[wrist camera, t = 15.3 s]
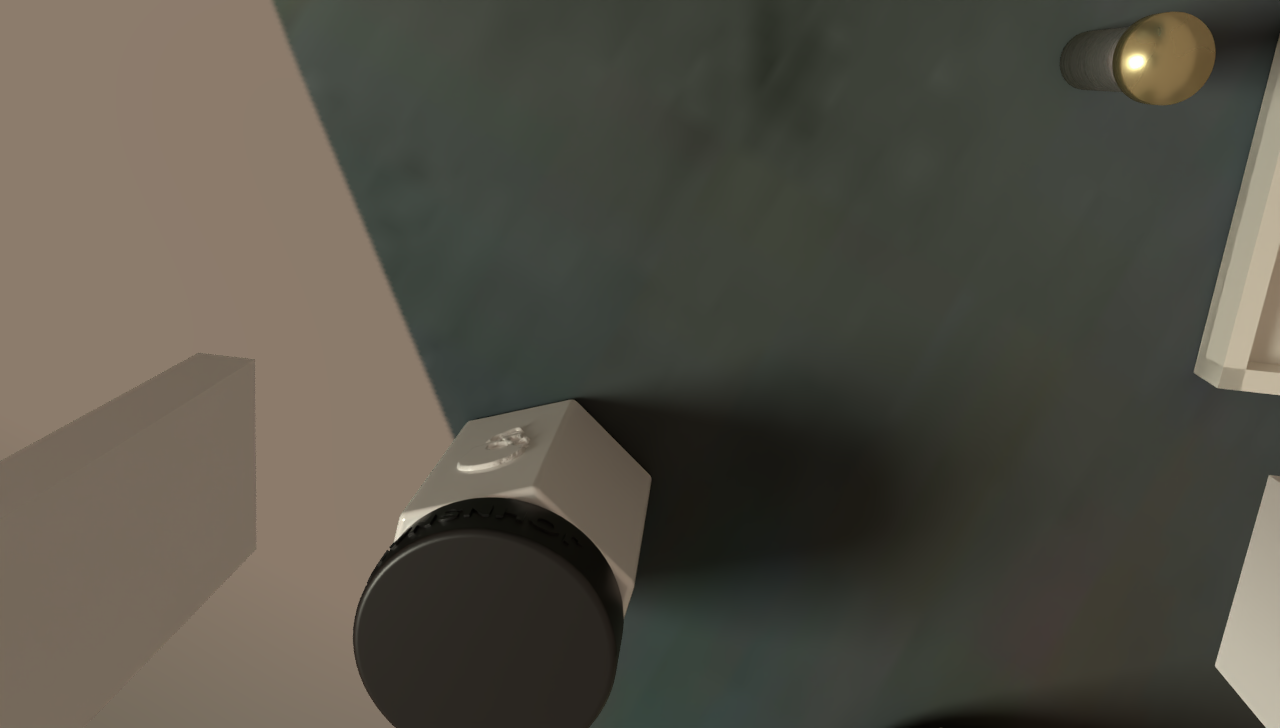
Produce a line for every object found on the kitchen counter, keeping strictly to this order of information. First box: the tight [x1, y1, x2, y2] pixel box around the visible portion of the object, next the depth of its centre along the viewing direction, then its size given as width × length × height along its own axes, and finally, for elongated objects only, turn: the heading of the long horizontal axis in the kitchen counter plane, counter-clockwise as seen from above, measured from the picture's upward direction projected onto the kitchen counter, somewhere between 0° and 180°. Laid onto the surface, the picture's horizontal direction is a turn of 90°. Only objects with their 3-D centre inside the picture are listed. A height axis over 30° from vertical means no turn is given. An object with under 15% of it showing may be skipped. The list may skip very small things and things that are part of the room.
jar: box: [353, 399, 652, 728], centre depth 37 cm, size 9×8×12 cm
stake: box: [1060, 12, 1216, 105], centre depth 33 cm, size 3×3×7 cm
